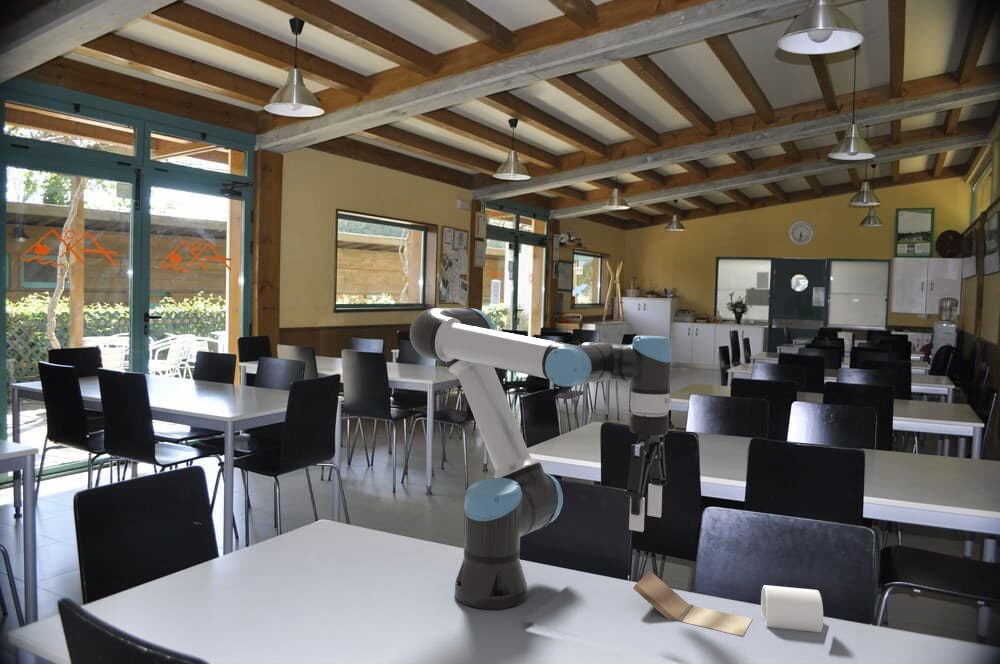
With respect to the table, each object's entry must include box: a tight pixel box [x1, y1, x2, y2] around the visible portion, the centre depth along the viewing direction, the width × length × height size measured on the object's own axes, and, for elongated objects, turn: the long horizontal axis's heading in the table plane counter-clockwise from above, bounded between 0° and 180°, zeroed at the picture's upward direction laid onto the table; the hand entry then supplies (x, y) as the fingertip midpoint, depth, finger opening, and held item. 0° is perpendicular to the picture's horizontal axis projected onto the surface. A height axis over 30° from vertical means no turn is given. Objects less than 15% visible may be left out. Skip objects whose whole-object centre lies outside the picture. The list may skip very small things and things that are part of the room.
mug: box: [760, 584, 824, 633], centre depth 146 cm, size 12×10×8 cm
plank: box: [632, 570, 690, 622], centre depth 149 cm, size 10×8×1 cm
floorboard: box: [678, 604, 753, 638], centre depth 144 cm, size 12×8×2 cm
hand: (645, 522), depth 150 cm, fingers open, 10 cm apart
